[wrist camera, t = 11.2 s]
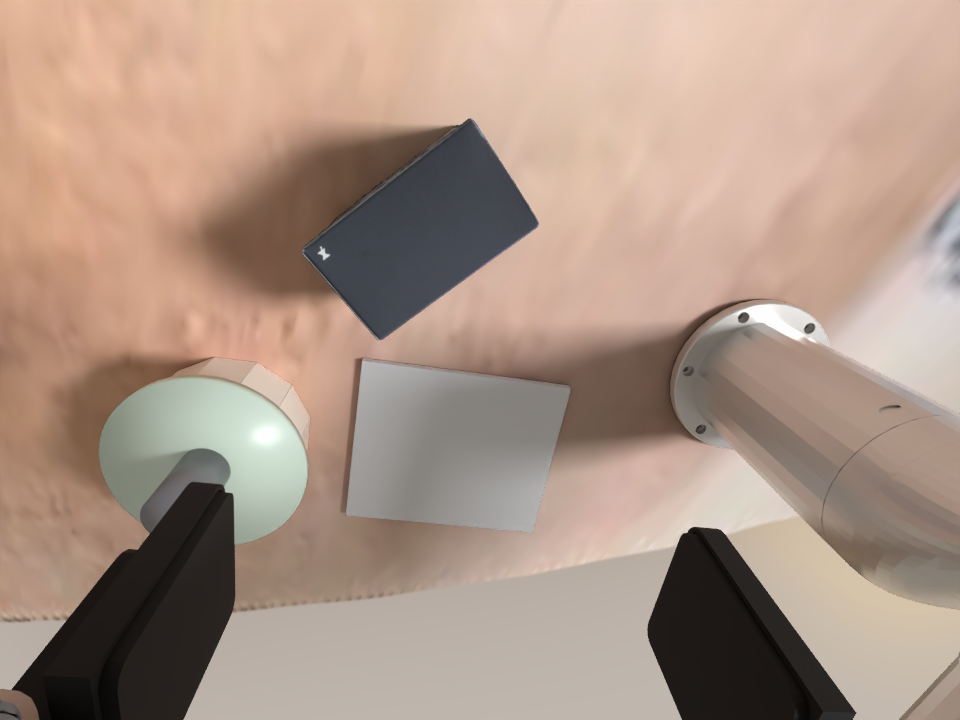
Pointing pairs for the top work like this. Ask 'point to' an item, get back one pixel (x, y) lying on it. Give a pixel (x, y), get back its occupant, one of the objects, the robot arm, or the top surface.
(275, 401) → the bowl
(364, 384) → the mat
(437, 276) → the small box
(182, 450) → the lid
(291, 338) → the top surface
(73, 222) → the top surface
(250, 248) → the top surface
